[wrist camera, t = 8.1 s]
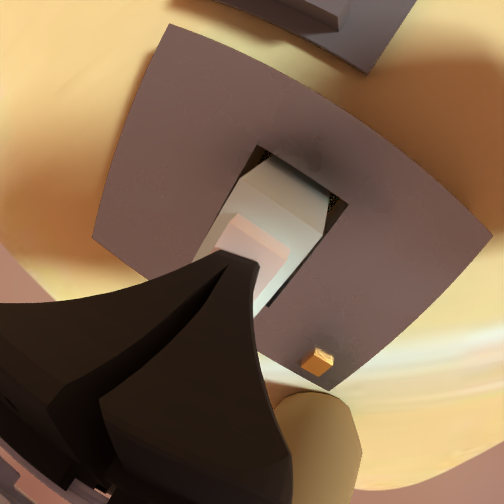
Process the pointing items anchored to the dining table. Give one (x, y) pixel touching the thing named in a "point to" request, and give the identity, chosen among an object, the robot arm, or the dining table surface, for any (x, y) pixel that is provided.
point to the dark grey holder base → (335, 24)
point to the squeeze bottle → (320, 447)
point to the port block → (308, 162)
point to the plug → (270, 223)
